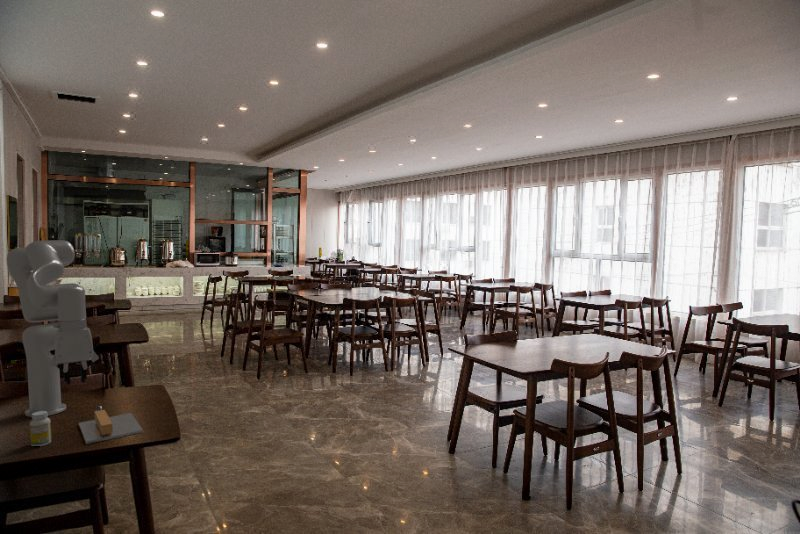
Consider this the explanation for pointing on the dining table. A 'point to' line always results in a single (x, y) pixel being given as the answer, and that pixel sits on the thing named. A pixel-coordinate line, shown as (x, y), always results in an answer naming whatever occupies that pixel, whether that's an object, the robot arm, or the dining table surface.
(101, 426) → the swing bar
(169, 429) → the dining table surface
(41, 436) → the supplement bottle
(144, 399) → the dining table surface
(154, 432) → the dining table surface
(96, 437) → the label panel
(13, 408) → the dining table surface
